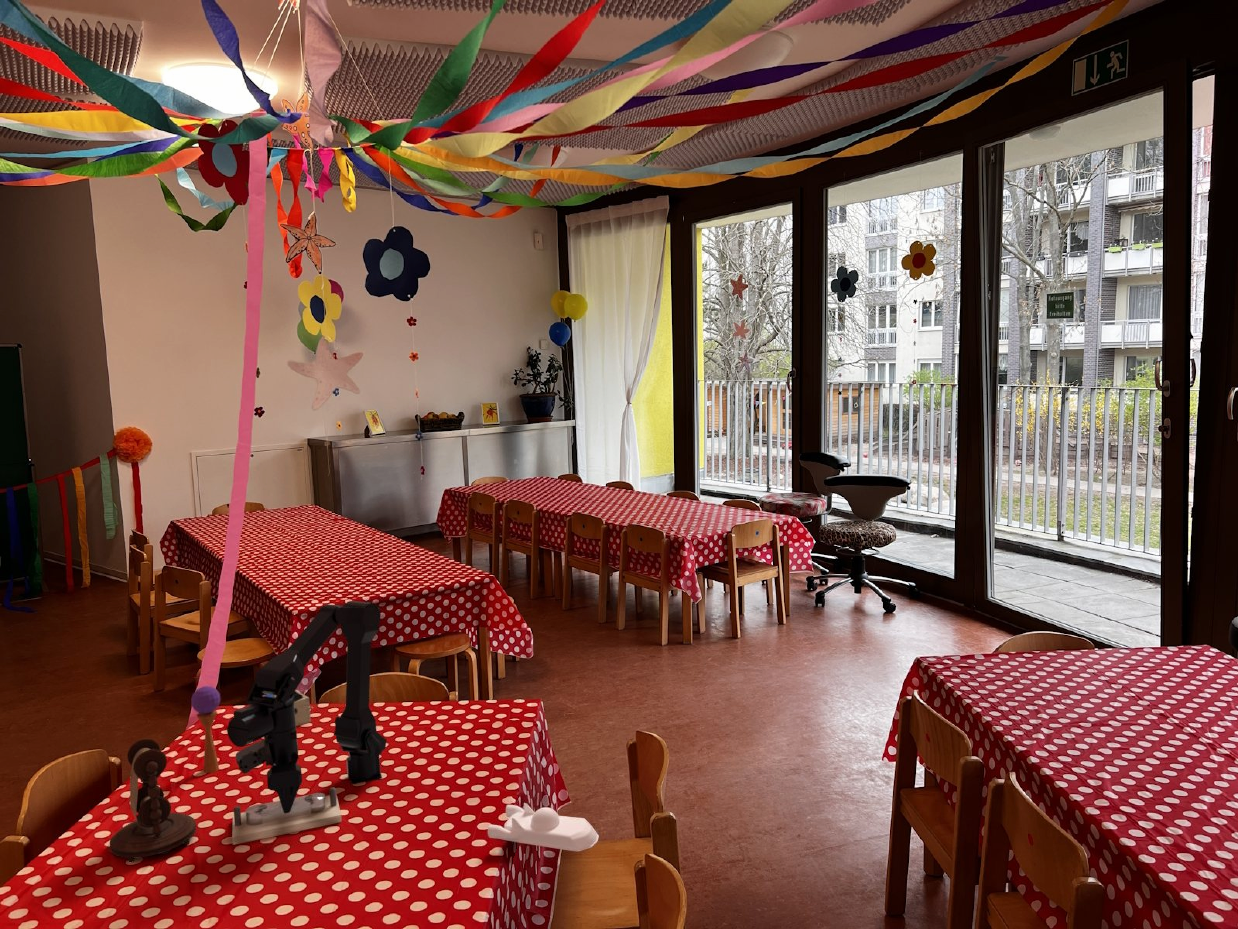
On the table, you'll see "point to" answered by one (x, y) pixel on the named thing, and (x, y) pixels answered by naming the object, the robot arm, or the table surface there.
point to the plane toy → (545, 829)
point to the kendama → (207, 722)
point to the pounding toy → (300, 709)
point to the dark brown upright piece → (150, 809)
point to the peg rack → (285, 822)
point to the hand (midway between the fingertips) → (286, 802)
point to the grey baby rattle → (275, 810)
